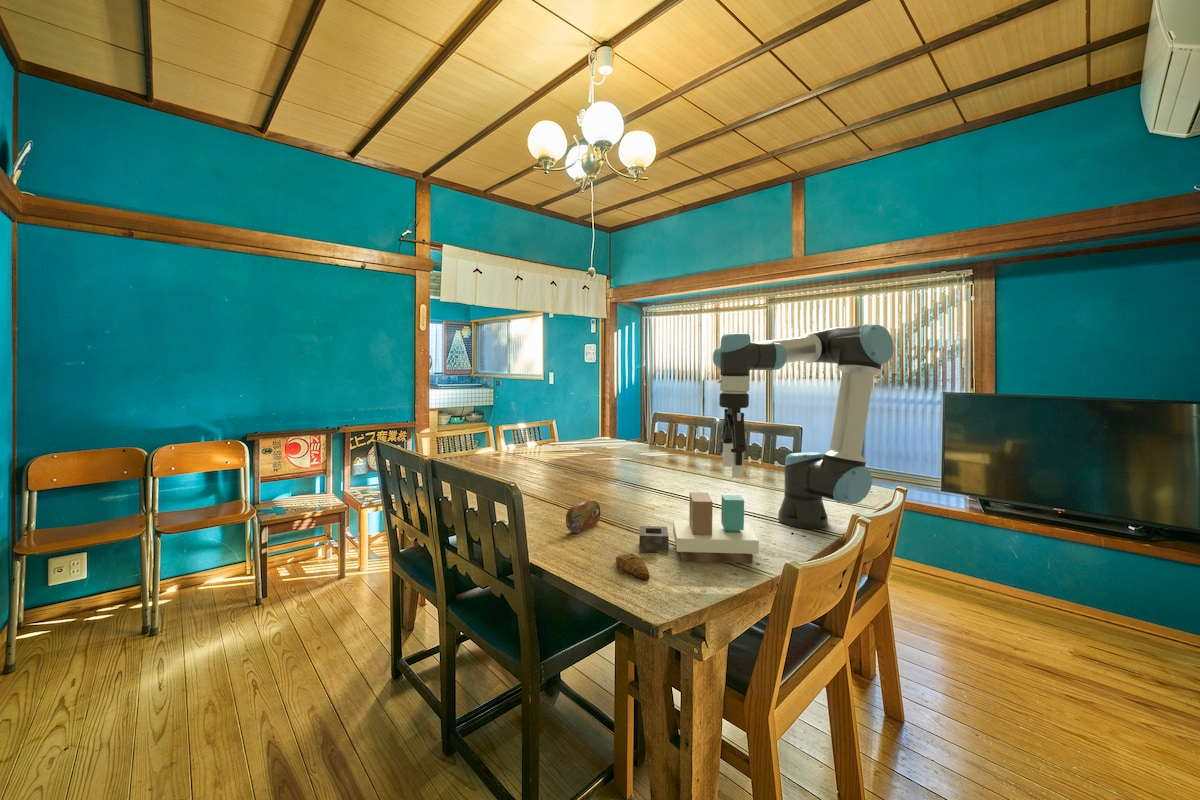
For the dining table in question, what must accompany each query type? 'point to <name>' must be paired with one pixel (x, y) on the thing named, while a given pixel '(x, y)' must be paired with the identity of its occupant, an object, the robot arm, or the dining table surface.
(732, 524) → the teal block
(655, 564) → the dining table surface
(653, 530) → the holder
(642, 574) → the croissant
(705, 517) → the lid
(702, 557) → the brown wooden open box
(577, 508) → the tin
